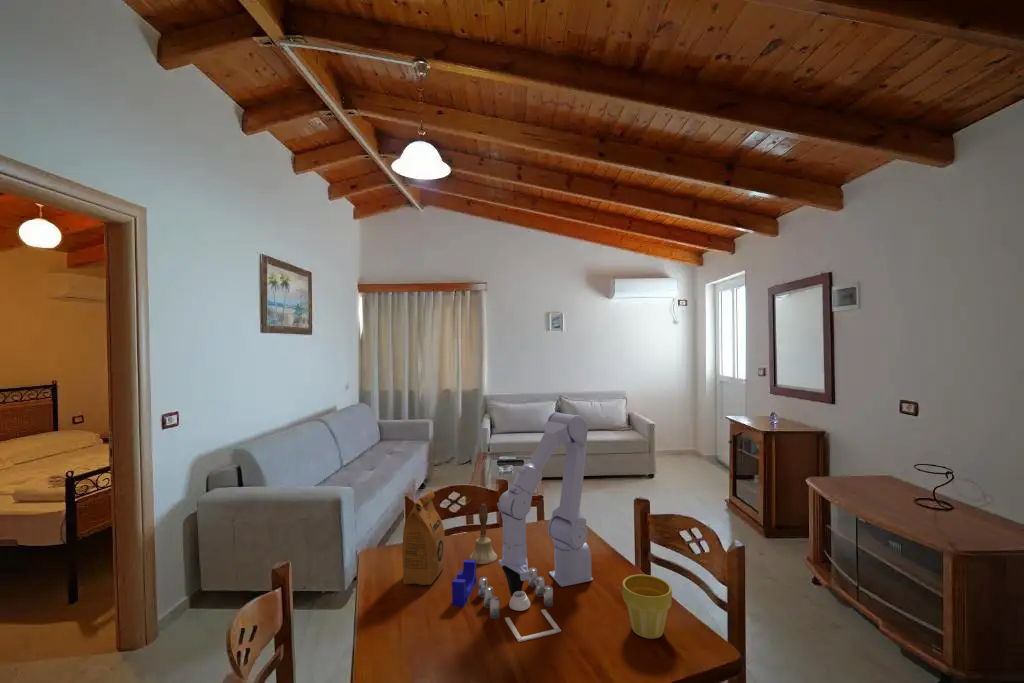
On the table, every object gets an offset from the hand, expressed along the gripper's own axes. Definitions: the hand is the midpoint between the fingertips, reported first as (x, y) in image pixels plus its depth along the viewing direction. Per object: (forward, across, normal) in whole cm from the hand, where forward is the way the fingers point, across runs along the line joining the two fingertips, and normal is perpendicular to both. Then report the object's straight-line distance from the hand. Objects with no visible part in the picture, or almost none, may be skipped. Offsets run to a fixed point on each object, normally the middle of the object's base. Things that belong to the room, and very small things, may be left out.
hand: (515, 596), depth 116 cm
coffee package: (+1, -20, -19) cm, 28 cm away
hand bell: (+1, -26, -1) cm, 26 cm away
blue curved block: (+2, -8, -12) cm, 14 cm away
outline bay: (+1, +10, 0) cm, 11 cm away
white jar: (+1, +3, 0) cm, 3 cm away
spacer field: (+1, 0, 0) cm, 1 cm away
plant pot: (+1, +21, +23) cm, 32 cm away
